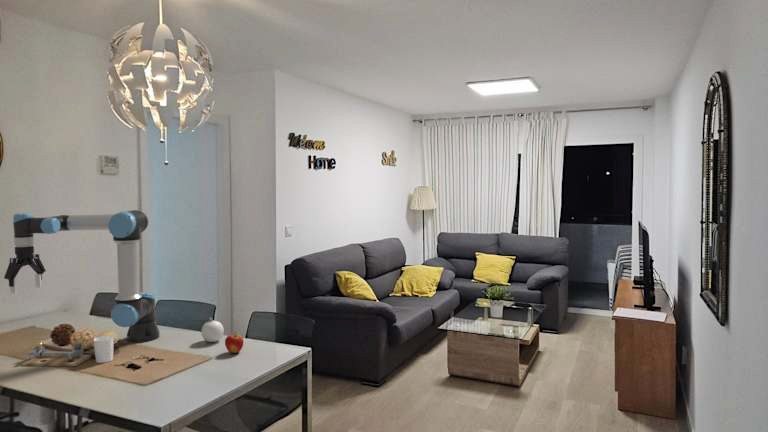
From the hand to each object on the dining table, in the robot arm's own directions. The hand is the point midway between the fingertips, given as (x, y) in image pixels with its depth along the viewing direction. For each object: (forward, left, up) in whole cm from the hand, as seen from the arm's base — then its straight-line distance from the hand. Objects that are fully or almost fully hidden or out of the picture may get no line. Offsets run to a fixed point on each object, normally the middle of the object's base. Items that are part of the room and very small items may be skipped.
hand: (26, 290), depth 256 cm
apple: (-101, +5, -27) cm, 105 cm away
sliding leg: (-17, +19, -26) cm, 36 cm away
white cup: (-47, +18, -27) cm, 57 cm away
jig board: (-27, +20, -27) cm, 43 cm away
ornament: (-85, -11, -27) cm, 90 cm away
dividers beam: (-26, +19, -26) cm, 42 cm away
